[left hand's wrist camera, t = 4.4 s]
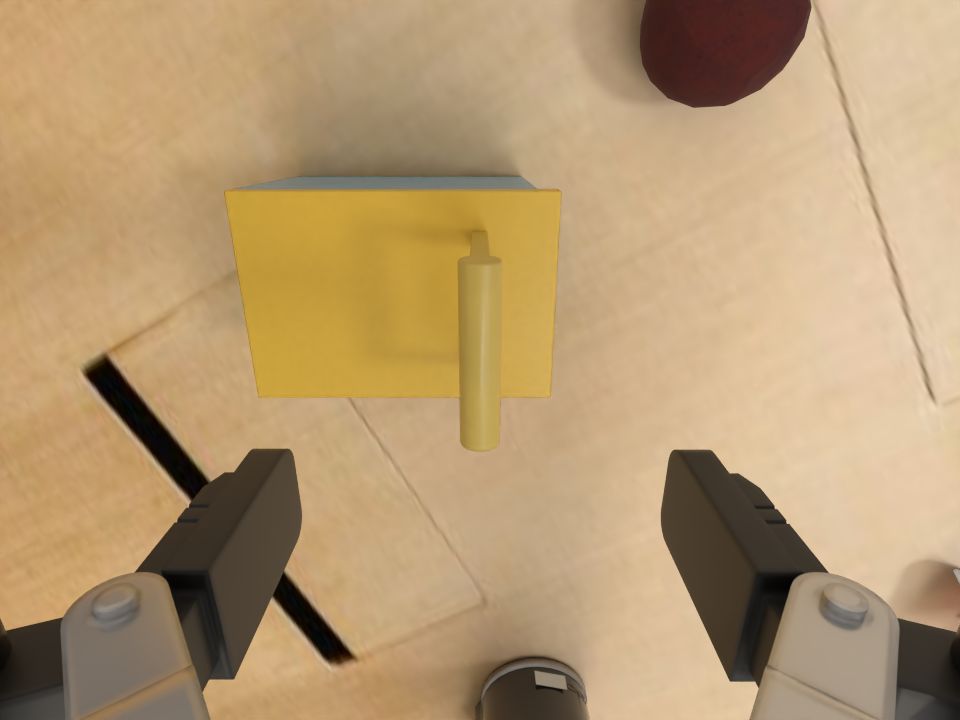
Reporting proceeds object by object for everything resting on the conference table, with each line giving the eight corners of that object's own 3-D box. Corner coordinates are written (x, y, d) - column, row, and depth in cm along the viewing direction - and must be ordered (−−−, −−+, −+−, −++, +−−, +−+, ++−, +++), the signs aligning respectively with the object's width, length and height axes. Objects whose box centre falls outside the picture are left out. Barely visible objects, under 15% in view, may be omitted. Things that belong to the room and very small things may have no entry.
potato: (684, -78, 28) (746, -144, 21) (792, 19, 30) (881, -16, 23) (596, 58, 30) (628, 35, 24) (701, 140, 32) (757, 140, 25)
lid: (559, 189, 24) (597, 211, 16) (548, 390, 28) (576, 489, 20) (231, 188, 24) (111, 211, 16) (264, 390, 28) (179, 489, 20)
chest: (522, 176, 33) (538, 188, 24) (518, 330, 36) (530, 390, 28) (298, 176, 33) (232, 189, 24) (316, 330, 36) (264, 390, 28)
